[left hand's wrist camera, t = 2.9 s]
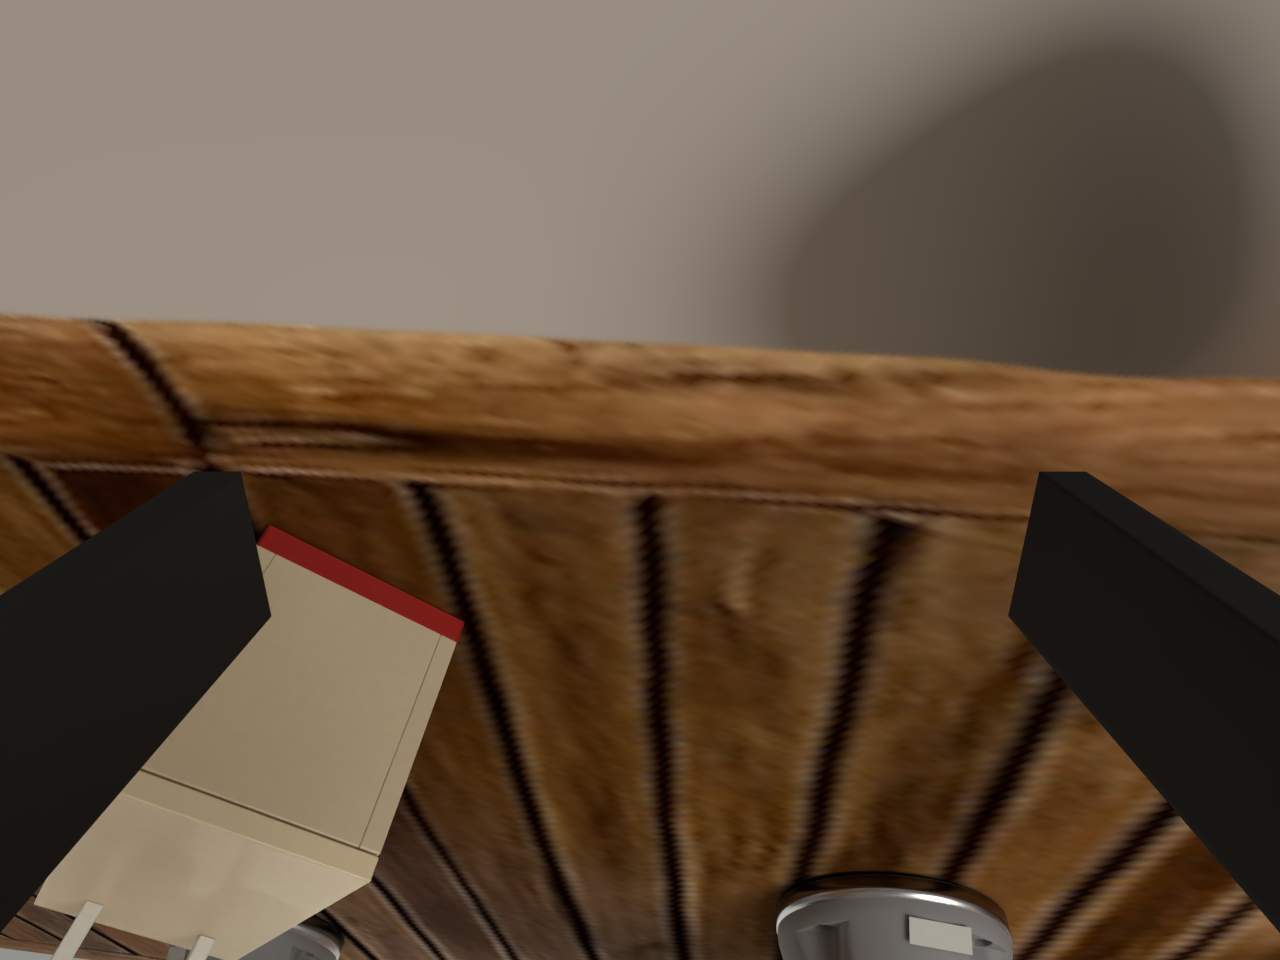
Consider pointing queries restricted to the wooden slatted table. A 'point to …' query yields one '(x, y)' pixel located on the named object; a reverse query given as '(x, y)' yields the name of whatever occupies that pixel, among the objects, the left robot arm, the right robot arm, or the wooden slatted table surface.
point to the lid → (197, 873)
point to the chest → (318, 700)
